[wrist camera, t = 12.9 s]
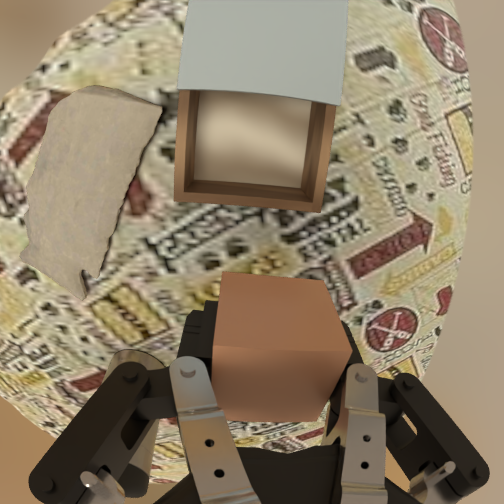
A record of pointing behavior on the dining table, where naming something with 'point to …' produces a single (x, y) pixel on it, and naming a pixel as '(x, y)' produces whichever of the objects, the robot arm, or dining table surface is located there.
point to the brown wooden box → (252, 150)
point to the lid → (266, 48)
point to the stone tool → (83, 181)
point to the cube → (276, 348)
